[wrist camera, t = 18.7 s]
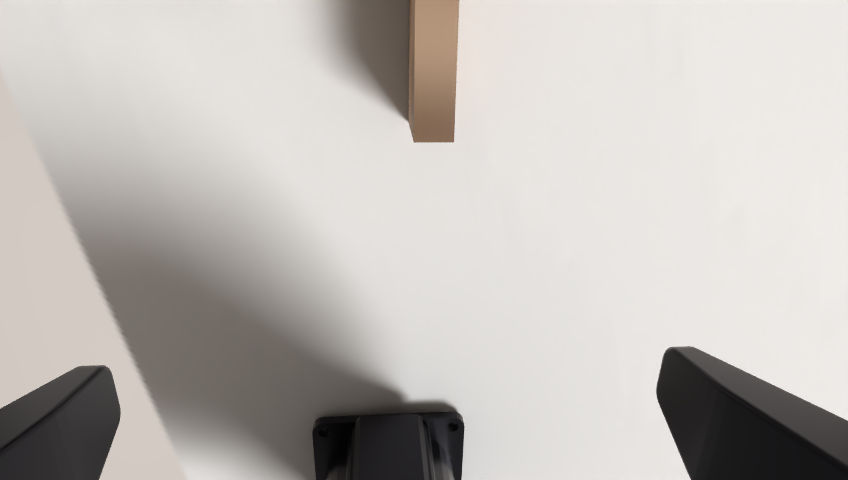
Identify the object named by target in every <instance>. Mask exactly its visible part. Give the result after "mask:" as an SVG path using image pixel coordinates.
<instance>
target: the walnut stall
mask: <svg viewBox="0 0 848 480" xmlns="http://www.w3.org/2000/svg"><path fill="white" fill-rule="evenodd" d="M458 17H459V0H409V126H410V129H411V133H412V137H413V140H414V142H454V124H455V97H456V70H457V43H458Z"/></svg>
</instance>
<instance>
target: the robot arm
mask: <svg viewBox="0 0 848 480" xmlns="http://www.w3.org/2000/svg"><path fill="white" fill-rule="evenodd" d="M656 393H657V399H658V402H659V405H660V407H661V410H662V412H663V415H664V417H665V419H666V422H667V424H668V427H669V429H670V431H671V434H672V436H673V439H674V441H675V443H676V446H677V448H678V451H679V453H680V455H681V458H682V460H683V462H684V465H685V467H686V470H687V472H688V474H689V476H690V478H691V480H848V421H847V420H845V419H843V418H841V417H839V416H837V415H835V414H833V413H831V412H828V411H826V410H824V409H822V408H820V407H818V406H816V405H814V404H812V403H810V402H807V401H805V400H803V399H801V398H799V397H797V396H795V395H793V394H791V393H789V392H787V391H784V390H782V389H780V388H778V387H776V386H774V385H772V384H770V383H768V382H766V381H764V380H761V379H759V378H757V377H755V376H753V375H751V374H749V373H747V372H745V371H743V370H741V369H738V368H736V367H734V366H732V365H730V364H728V363H726V362H724V361H722V360H720V359H718V358H715V357H713V356H711V355H709V354H707V353H705V352H703V351H701V350H699V349H697V348H694V347H690V346H688V347H670V348H668V349H667V350H666V351H665V353H664V356H663V360H662V364H661V369H660V373H659V378H658V382H657V388H656ZM119 421H120V405H119V401H118V396H117V393H116V389H115V384H114V380H113V376H112V373H111V371H110V369H109V368H108V367H106V366H104V365H102V366H101V365H100V366H79V367H76V368H74V369H73V370H71V371H69V372H67V373H65V374H63V375H62V376H60V377H58V378H56V379H54V380H52V381H51V382H49V383H47V384H45V385H43V386H41V387H39V388H38V389H36V390H34V391H32V392H30V393H28V394H27V395H25V396H23V397H21V398H19V399H17V400H16V401H14V402H12V403H10V404H8V405H6V406H4V407H3V408H1V409H0V480H99V478H100V475H101V473H102V469H103V467H104V464H105V461H106V458H107V456H108V453H109V450H110V447H111V444H112V441H113V439H114V436H115V433H116V430H117V427H118V425H119ZM450 423H456V424H455V425H452V426H451V425H448V424H450ZM322 428H327V429H329V430H327V431H323V430H321V429H322ZM463 440H464V423H463V418H462V416H461V415H460V414H459V413H457V412H434V413H410V414H385V415H361V416H337V417H322V418H319V419H317V420H316V421H315V423H314V426H313V446H314V458H315V471H316V480H461V476H462V458H463Z"/></svg>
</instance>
